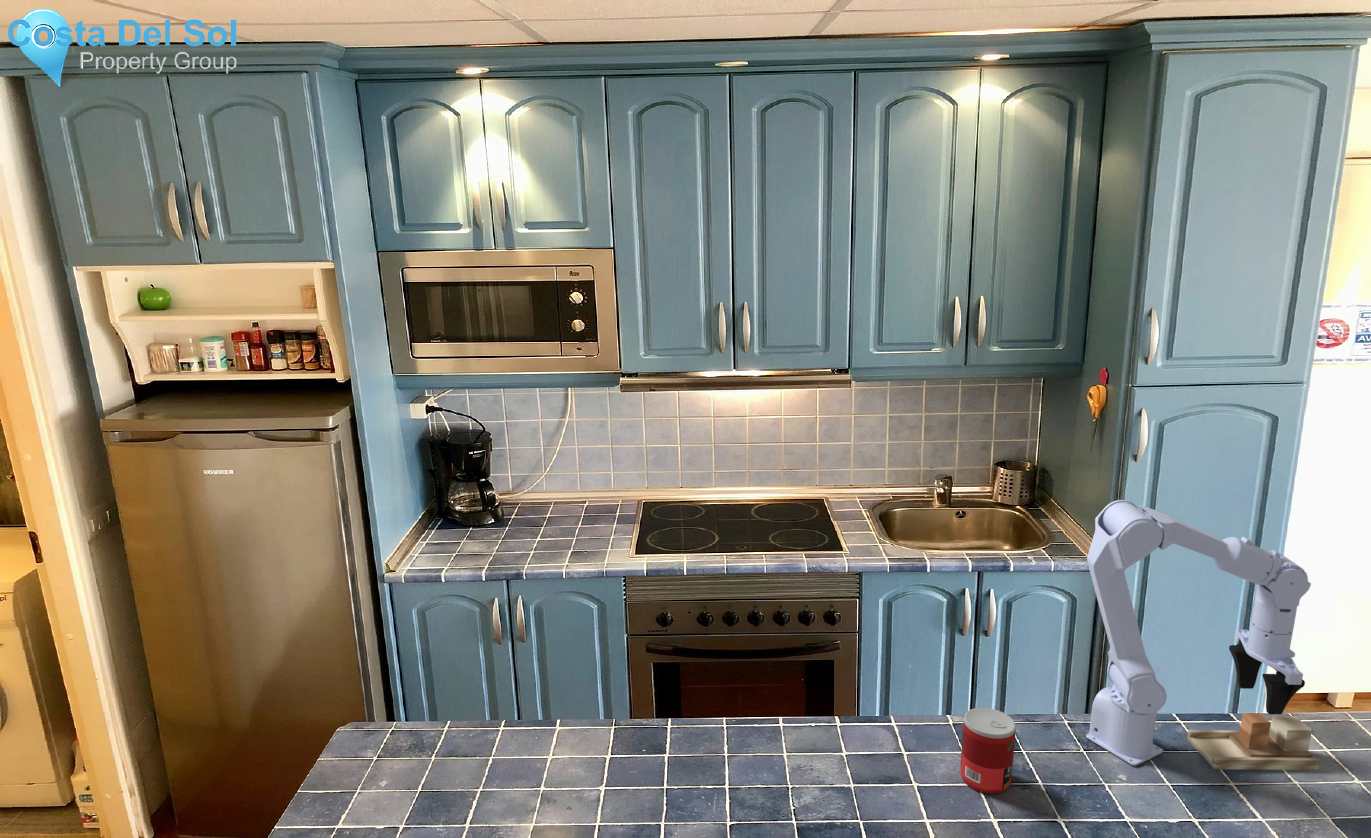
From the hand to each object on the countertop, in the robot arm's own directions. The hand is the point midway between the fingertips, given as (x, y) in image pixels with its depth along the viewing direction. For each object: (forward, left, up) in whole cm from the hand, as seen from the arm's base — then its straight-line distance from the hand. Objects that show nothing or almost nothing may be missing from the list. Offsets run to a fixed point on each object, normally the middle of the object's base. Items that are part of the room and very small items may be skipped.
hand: (1259, 700), depth 143 cm
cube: (+3, +5, -8) cm, 10 cm away
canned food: (-17, -45, -11) cm, 49 cm away
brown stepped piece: (+2, +3, -9) cm, 10 cm away
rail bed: (0, 0, -10) cm, 10 cm away
